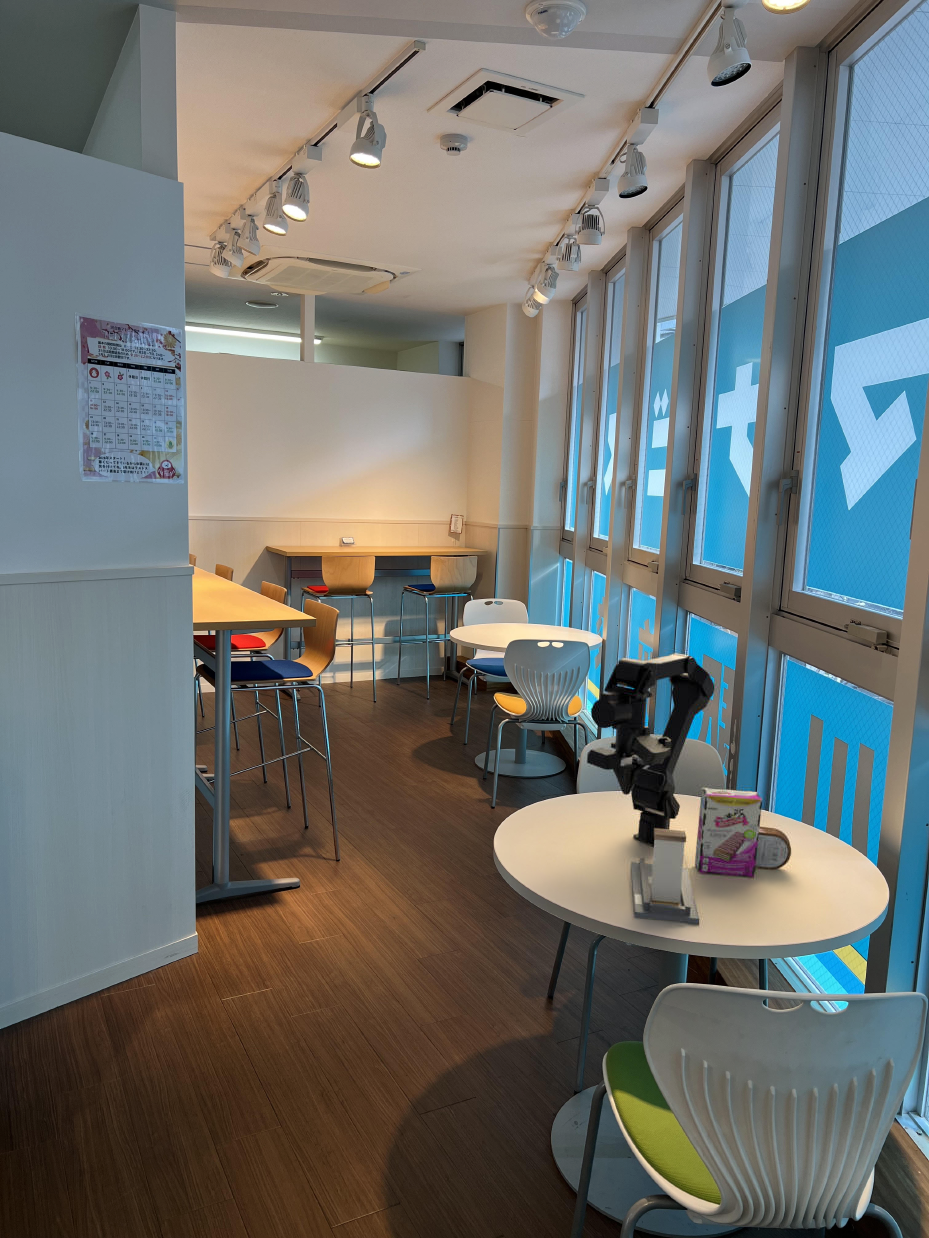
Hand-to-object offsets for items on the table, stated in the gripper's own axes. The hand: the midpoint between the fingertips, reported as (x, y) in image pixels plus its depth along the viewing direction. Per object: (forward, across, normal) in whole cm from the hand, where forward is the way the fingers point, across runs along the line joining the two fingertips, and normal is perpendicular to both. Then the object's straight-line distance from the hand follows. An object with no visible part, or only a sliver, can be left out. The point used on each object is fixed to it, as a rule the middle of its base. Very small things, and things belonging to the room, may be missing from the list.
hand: (626, 794), depth 177 cm
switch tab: (+11, -11, -21) cm, 26 cm away
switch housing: (+13, -7, -17) cm, 23 cm away
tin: (+13, +19, -18) cm, 29 cm away
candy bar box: (+13, +12, -17) cm, 24 cm away
